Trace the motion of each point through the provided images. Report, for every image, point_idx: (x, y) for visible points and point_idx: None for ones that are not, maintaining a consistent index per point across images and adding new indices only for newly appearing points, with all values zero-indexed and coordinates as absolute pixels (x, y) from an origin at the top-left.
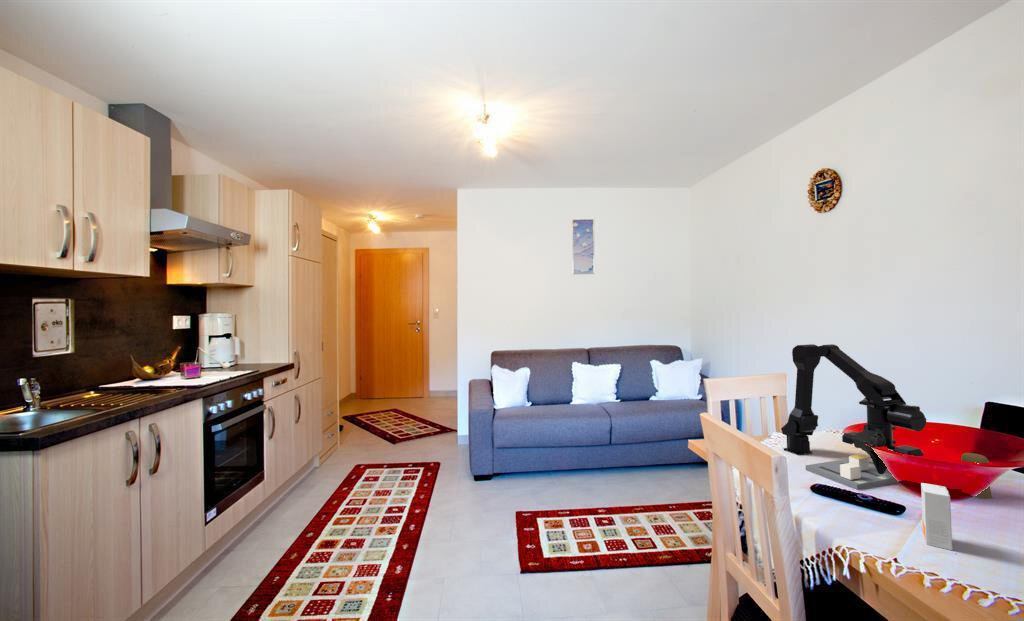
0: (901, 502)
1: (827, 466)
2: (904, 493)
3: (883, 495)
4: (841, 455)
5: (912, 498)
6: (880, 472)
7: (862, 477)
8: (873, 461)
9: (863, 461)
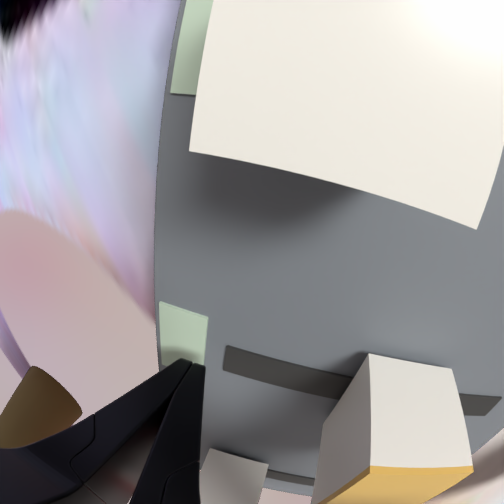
0: (14, 65)
1: None
2: (59, 218)
3: (77, 53)
4: (464, 478)
5: (20, 177)
6: (177, 368)
7: (283, 206)
8: (190, 466)
9: (339, 467)
